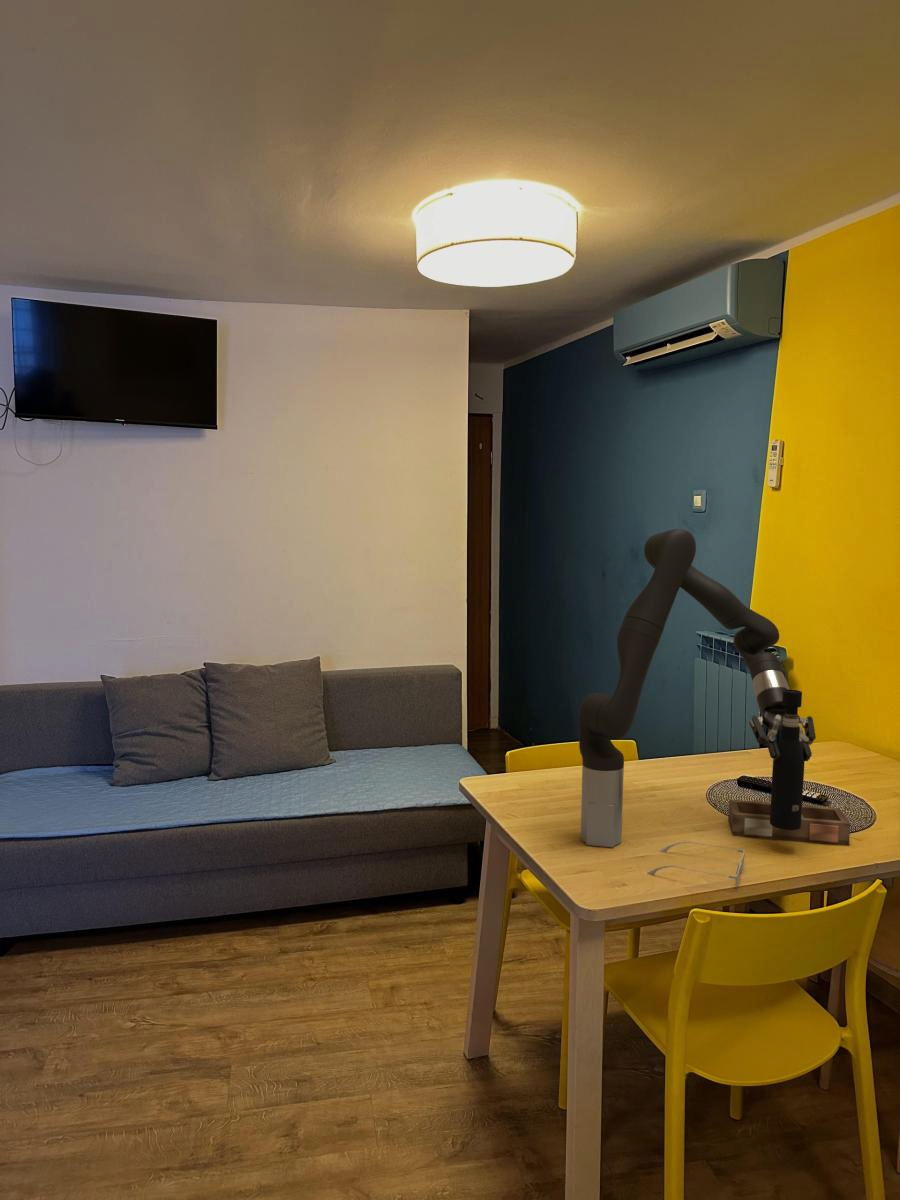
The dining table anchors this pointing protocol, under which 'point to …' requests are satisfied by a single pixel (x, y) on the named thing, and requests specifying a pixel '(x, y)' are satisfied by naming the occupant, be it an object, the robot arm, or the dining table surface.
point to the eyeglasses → (737, 877)
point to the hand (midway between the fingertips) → (792, 759)
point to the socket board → (814, 828)
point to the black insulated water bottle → (788, 769)
